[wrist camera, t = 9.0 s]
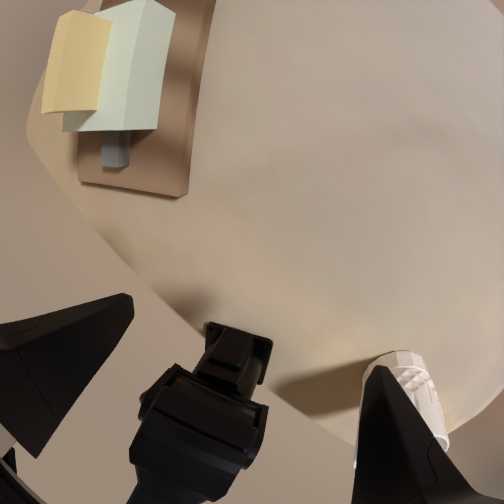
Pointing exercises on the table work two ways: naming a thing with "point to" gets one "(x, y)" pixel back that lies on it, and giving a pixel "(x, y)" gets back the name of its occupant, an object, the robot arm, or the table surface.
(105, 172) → the board
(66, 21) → the sage block
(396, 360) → the white cup
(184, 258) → the table surface
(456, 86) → the table surface
